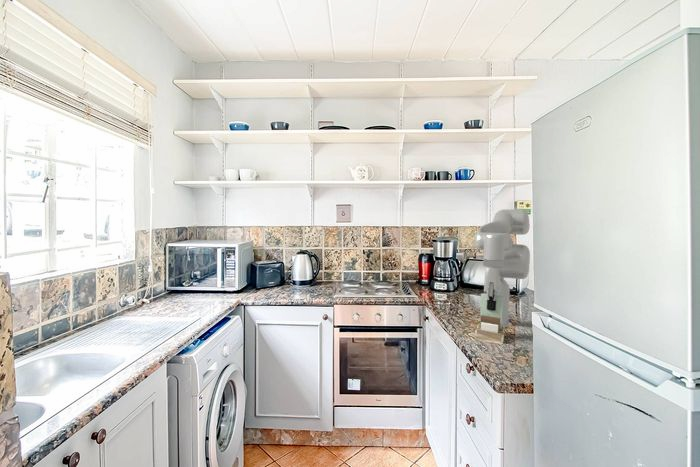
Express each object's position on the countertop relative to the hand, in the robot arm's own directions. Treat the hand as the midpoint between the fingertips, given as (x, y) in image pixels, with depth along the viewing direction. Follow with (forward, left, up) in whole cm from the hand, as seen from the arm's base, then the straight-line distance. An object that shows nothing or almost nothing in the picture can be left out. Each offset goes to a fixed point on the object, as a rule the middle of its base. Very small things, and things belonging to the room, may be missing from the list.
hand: (491, 309), depth 124 cm
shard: (-14, -10, -12) cm, 21 cm away
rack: (+3, 0, -12) cm, 12 cm away
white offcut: (+6, 0, -10) cm, 12 cm away
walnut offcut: (+3, 0, -10) cm, 11 cm away
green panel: (0, 0, -10) cm, 10 cm away
